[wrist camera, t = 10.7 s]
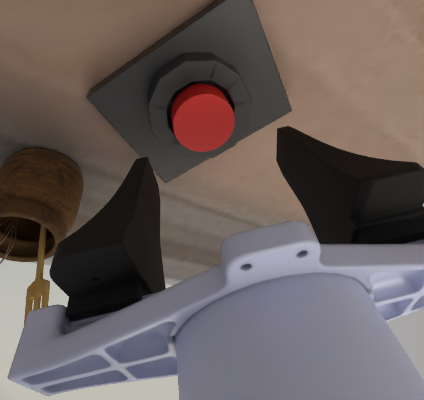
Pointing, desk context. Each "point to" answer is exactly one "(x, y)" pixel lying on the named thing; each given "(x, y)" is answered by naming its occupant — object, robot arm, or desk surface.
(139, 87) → the button box
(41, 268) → the utensil holder
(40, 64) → the desk surface
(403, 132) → the desk surface
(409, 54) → the desk surface
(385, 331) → the robot arm
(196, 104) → the button
